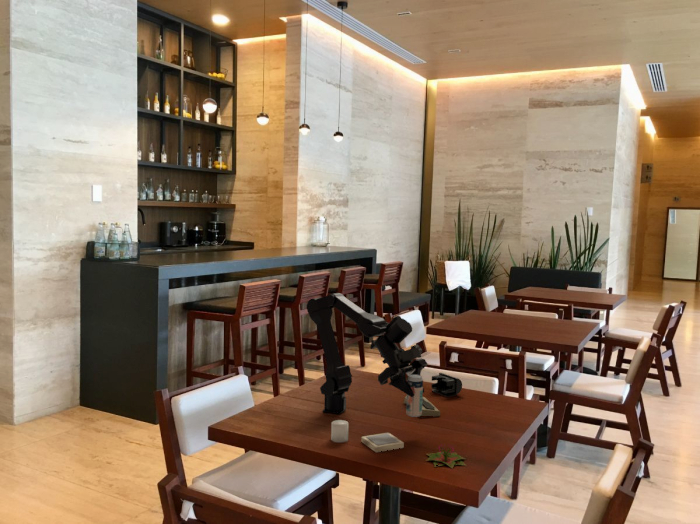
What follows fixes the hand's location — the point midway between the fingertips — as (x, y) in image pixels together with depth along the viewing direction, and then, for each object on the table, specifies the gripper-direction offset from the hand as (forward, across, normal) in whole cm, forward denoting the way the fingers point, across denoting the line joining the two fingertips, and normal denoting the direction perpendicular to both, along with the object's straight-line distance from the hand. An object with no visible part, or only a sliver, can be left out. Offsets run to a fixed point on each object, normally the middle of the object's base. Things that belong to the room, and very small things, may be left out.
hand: (418, 394), depth 182 cm
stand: (+7, -13, +11) cm, 18 cm away
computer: (0, +22, +20) cm, 30 cm away
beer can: (+4, 0, +6) cm, 7 cm away
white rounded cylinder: (-1, -18, +20) cm, 27 cm away
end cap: (-4, +46, +23) cm, 51 cm away
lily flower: (+21, -10, -2) cm, 23 cm away
